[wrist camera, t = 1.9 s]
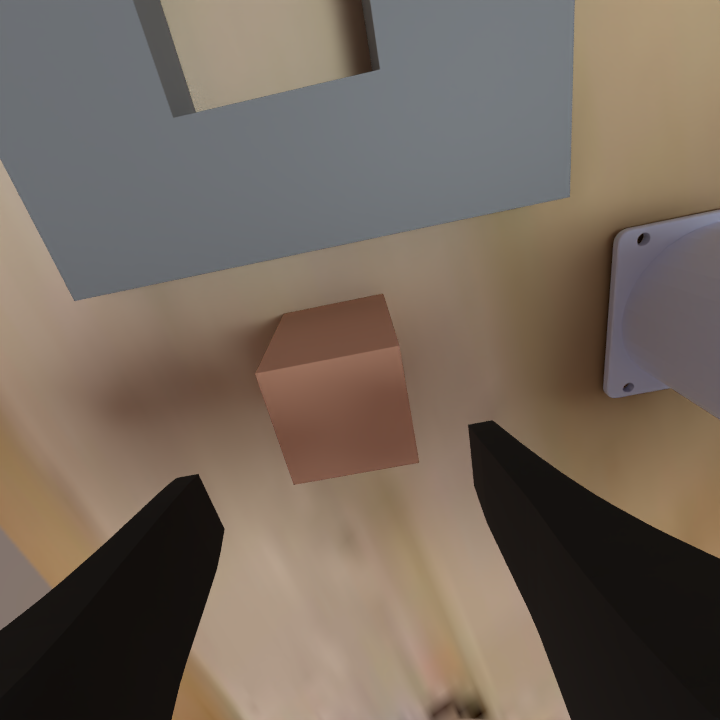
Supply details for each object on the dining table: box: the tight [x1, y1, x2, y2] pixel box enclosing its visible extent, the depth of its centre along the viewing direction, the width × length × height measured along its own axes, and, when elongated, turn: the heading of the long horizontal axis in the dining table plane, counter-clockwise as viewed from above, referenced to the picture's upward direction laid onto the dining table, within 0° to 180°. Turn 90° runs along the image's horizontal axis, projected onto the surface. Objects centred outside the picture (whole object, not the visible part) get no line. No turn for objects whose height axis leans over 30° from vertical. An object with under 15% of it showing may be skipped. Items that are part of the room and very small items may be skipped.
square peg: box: [255, 294, 419, 485], centre depth 16 cm, size 4×4×6 cm
